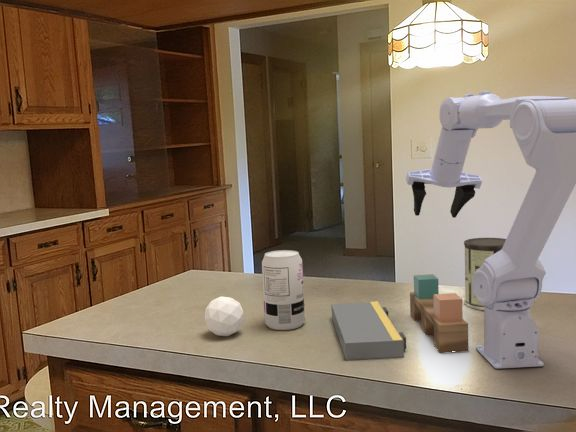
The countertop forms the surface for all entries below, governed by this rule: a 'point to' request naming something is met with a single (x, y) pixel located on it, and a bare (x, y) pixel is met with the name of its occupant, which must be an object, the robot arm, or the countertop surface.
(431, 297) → the teal crate
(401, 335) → the dock
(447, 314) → the terracotta brick
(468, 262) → the coffee can
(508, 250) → the robot arm
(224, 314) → the ball
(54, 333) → the countertop surface
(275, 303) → the supplement can
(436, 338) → the brown long bar
